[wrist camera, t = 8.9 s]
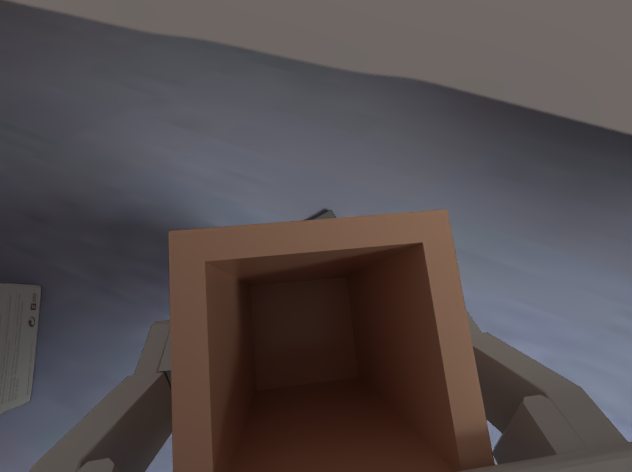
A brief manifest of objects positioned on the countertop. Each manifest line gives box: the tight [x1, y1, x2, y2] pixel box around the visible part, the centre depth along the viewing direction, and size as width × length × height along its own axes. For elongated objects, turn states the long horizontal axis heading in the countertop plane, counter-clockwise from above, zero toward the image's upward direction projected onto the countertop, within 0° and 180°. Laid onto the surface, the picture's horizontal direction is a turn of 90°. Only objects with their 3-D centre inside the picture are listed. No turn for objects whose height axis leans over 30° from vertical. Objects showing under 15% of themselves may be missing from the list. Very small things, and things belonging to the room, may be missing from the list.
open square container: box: [169, 209, 495, 472], centre depth 10 cm, size 5×5×8 cm
